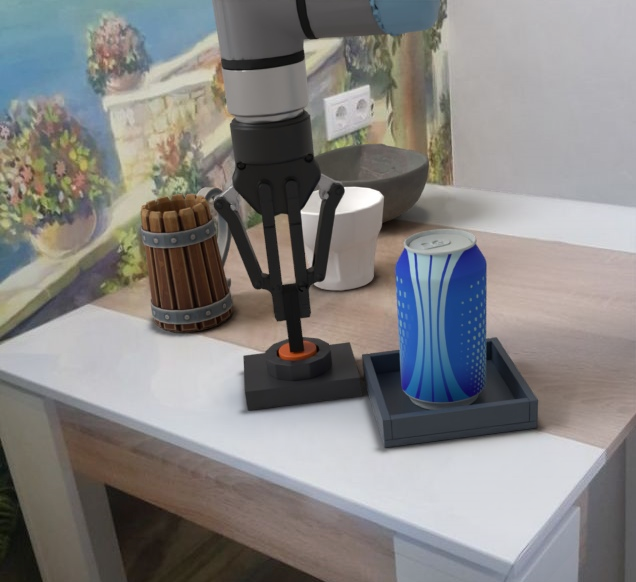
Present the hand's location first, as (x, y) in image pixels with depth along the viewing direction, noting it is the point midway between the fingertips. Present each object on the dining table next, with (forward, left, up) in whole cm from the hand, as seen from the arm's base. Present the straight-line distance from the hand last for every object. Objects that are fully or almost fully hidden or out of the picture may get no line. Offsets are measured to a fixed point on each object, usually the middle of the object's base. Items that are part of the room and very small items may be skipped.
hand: (296, 346), depth 93 cm
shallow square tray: (-14, +8, -5) cm, 17 cm away
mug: (+11, -25, -5) cm, 28 cm away
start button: (0, 0, -2) cm, 2 cm away
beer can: (-14, +8, -4) cm, 17 cm away
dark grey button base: (0, 0, -5) cm, 5 cm away
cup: (-8, -30, -5) cm, 31 cm away
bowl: (-15, -55, -5) cm, 57 cm away
